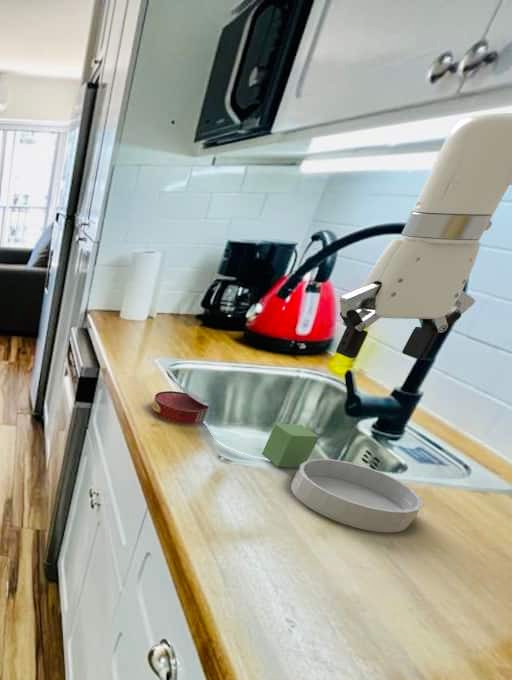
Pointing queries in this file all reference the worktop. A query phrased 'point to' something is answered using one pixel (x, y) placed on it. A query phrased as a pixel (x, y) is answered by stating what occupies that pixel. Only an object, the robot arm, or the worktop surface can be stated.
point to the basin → (356, 495)
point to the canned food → (180, 406)
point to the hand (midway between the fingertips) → (378, 355)
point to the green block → (289, 445)
